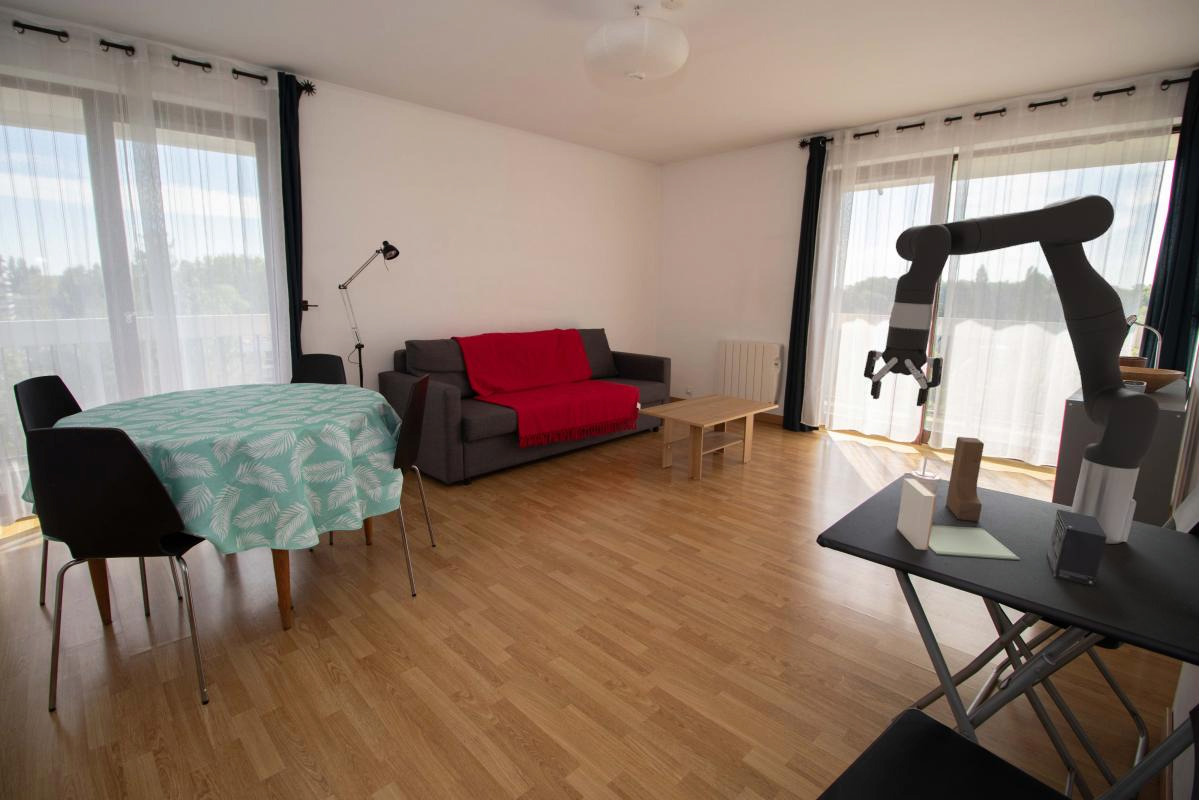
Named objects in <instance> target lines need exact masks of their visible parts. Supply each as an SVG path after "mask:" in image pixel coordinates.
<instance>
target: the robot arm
mask: <svg viewBox="0 0 1199 800" xmlns="http://www.w3.org/2000/svg"><path fill="white" fill-rule="evenodd" d="M1114 218H1115V209H1114V207H1113V205H1112V203H1111V201H1109V199H1108V198H1105V197H1104V196H1102V195H1099V194H1083V195H1077V196H1073V197H1070V198H1066V199H1065V198H1064V199H1060V200H1057V201H1054V202H1051V203H1048V204H1046V205H1045V206H1043V207H1042V208H1039V209H1033V210H1026V211H1025V210H1024V211H1017V212H1009V213H1008V212H1007V213H1001V214H991V215H982V216H977V217H969V218H964V219H958V220H956V221H950V222H944V223H943V222H942V223H929V224H922V225H914V226H910V227H908V228H907V229H905V230H903V231H902V232H901V233H900V234H899V236H898V238H897V239H896V242H895V250H896V251H895V252H896V253H897V254H898V256H899V257H900V258H902V260H905V261H909V262H911V264H910V266H909V270H908V271H907V273H904V274H902V275H901V276H900V277H899V278H898V280H897V283H896V289H895V295H894V300H893V305H892V309H891V312H890V317H889V321H888V324H889V325H888V330H887V335H886V336H887V337H886V344H885V349H884V351H881V350H877V349H871V350H869V351H868V352H867V358H866V362H865V367H864V371H863V377H864V378H867V379H869V380H870V381H871V389H870V395H871V396H872V399H873V400H878V399H880V396H881V388H882V382H883V381H881V380H882V379H883V378H884V377H885V376H887V374H889V373H890V372H891V373H892V374H895V375H896V374H897V375H899V374H901V375H904V376H910V375H911V376H912V377H913V378H914V380H916V381H917V383H918V385H919V386H920V388H919V389H918V394H917V399H916V407H922V406H923V405H925V404H926V403H927V402H928V396H929V390H930V389H931V388H937V387H939V386H940V385H941V381H942V375H943V374H942V373H943V363H944V362H943V361H944V359H943V357H942V356H938V357H931V356H930V357H928V355H927V350H928V345H929V344H928V343H929V338H930V332H931V326H932V321H933V306H934V305H933V304H934V300H935V294H936V287H937V283H938V281H939V278H940V276H941V274H942V273H943V270H944V268H945V266H946V264H947V261H948V259H949V256H965V255H966V256H967V255H972V254H980V253H986V252H993V251H997V250H1001V249H1002V250H1003V249H1007V248H1012V247H1016V246H1021V245H1026V244H1027V245H1028V244H1032V243H1037V242H1039V246H1040V247H1041V251H1042V253H1043V255H1044V257H1045V259H1046V261H1047V262H1046V263H1047V264H1048V267H1049V269H1050V272H1051V274H1052V277H1053V281H1054V285H1055V287H1056V291H1057V294H1058V297H1059V301H1060V304H1061V306H1062V307H1061V308H1062V312H1063V317H1064V321H1065V324H1066V328H1067V331H1068V336H1069V338H1070V342H1071V344H1072V349H1073V352H1074V357H1075V361H1076V365H1077V366H1078V371H1079V375H1080V376H1079V377H1080V384H1081V393H1082V399H1083V401H1082V402H1083V408H1084V412H1085V414H1086V416H1087V417H1088V419H1089V420H1090V421H1091V422H1092V423H1093V424H1095V425H1096V426H1098V427H1101V428H1103V429H1104V431H1103V435H1102V437H1101V440H1100V441H1099V442H1098V443H1097V442H1096V443H1090V444H1089V443H1088V445H1086V446H1085V447H1084V448H1085V449H1084V452H1083V456H1082V461H1081V464H1080V465H1081V466H1080V472H1079V476H1078V479H1077V485H1076V487H1075V493H1074V496H1073V500H1072V501H1073V502H1072V505H1071V510H1070V512H1073V513H1077V514H1082V515H1087V516H1092V517H1096V519H1097V521H1098V522H1099V524H1100V526H1101V527H1102V529H1103V531H1104V532H1105V534H1106V536H1107V538H1106V542H1105V544H1109V545H1110V544H1112V545H1113V544H1114V545H1115V544H1120V543H1123V542H1124V543H1127V542H1128V539H1129V538H1128V537H1129V534H1130V530H1131V526H1132V523H1133V517H1134V514H1135V511H1136V506H1137V501H1136V500H1135V499H1133V497H1134V493H1135V488H1136V483H1137V481H1138V476H1139V472H1140V468H1141V464H1142V462H1143V460H1144V459H1145V458H1146V456H1147V455H1148V453H1150V449H1151V447H1152V444H1153V440H1154V438H1155V434H1156V432H1157V428H1158V424H1159V420H1160V417H1161V416H1160V414H1161V411H1160V406H1159V403H1158V401H1157V400H1156V399H1155V398H1154V397H1152V396H1151V395H1149V394H1147V393H1144V392H1139V391H1136V390H1132V389H1128V388H1127V386H1126V384H1125V381H1124V378H1123V375H1122V373H1121V369H1120V368H1121V367H1120V355H1121V351H1122V349H1123V347H1124V344H1125V342H1126V338H1127V335H1128V334H1127V333H1128V322H1127V318H1126V314H1125V309H1124V307H1123V303H1122V300H1121V297H1120V295H1119V294H1118V292H1117V291H1116V290H1115V288H1114V287H1113V286H1112V285H1111V284H1110V283H1109V282H1108V281H1107V280H1106V279H1105V278H1104V277H1103V276H1102V275H1101V274H1100V273H1099V272H1098V271H1097V270H1096V269H1095V268H1094V267H1093V266H1092V265H1091V262H1090V261H1089V260H1088V257H1087V255H1086V251H1085V249H1084V246H1083V243H1088V242H1091V241H1093V240H1096V239H1098V238H1100V237H1101V236H1103V235H1104V234H1105V233H1106V232H1108V231H1109V229H1110V228H1111V226H1112V224H1113V222H1114V220H1115V219H1114ZM880 358H882V360H883V362H884V363H885V365H884V366H883V367H882V368H880V369H879V370H878V372H877V373H875V367H876V362H877V361H879V360H880ZM926 363H928V365H929V368H931V369H932V371H931V381H929V380H928V378H927V377H926V374H925V372H924V371H923V368H922V367H924V366H925V364H926Z"/></svg>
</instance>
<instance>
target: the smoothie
mask: <svg viewBox="0 0 1199 800" xmlns="http://www.w3.org/2000/svg"><path fill="white" fill-rule="evenodd" d="M923 460H924V461H923V465H922V470H919V469H918V470H912V471H911V472H910V476H909V477H910V479H916V480H917V481H919V482H920V483H921V484H922V485H923V486H925V487H926V488H927V489H928V490H929V491H931V492H932V493H933V494H934V495H936V492H937V490H938V487H939V486H938V485H939V483H941V482H942V476H941V475H939V474H937V473H935V472H931V471H927V462H928V456H924V459H923Z"/></svg>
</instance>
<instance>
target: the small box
mask: <svg viewBox="0 0 1199 800" xmlns="http://www.w3.org/2000/svg"><path fill="white" fill-rule="evenodd" d="M1106 538H1107V536H1106V534H1105V532H1104V531H1103V529H1102V527H1101V526H1100V524H1099V522H1098V521H1097V519H1096V517H1092V516H1087V515H1082V514H1077V513H1073V512H1071V511H1067V510H1062V509H1056V515H1055V521H1054V525H1053V530H1052V535H1051V538H1050V542H1049V545H1048V549H1047V553H1046V558H1047V560H1048V561H1047V562H1048V564H1049V566H1050V570H1051V573H1052V576H1053V577H1054V578H1057V579H1061V580H1066V581H1070V582H1075V583H1078V584H1083V585H1086V586H1091V587H1095V583H1096V580H1097V576H1098V573H1099V568H1100V565H1101V560H1102V558H1103V552H1104V549H1105V545H1106V543H1105V542H1106Z"/></svg>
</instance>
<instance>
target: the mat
mask: <svg viewBox="0 0 1199 800" xmlns="http://www.w3.org/2000/svg"><path fill="white" fill-rule="evenodd" d="M928 548H929V549H930V550H931V551H933V553H935V555H941V556H950V557H951V556H952V557H953V556H954V557H955V556H956V557H968V558H969V557H970V558H983V559H996V560H997V559H998V560H1014V561H1020V560H1021V558H1020V557H1019V556H1017V555H1016V554H1014V552H1012V551H1011V550H1009V548H1007V547H1006V546H1005V545H1003V544H1002V543H1001V542H1000V541H999V540H997V539H996V538H995V537H993V536H992V535H991V534H990V533H989V532H987V531H986V530H985V529H984V528H983V527H982V528H981V527H965V526H953V525H952V526H950V525H937V524H936V525H935V524H932V528H931V534H930V540H929V546H928Z"/></svg>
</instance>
